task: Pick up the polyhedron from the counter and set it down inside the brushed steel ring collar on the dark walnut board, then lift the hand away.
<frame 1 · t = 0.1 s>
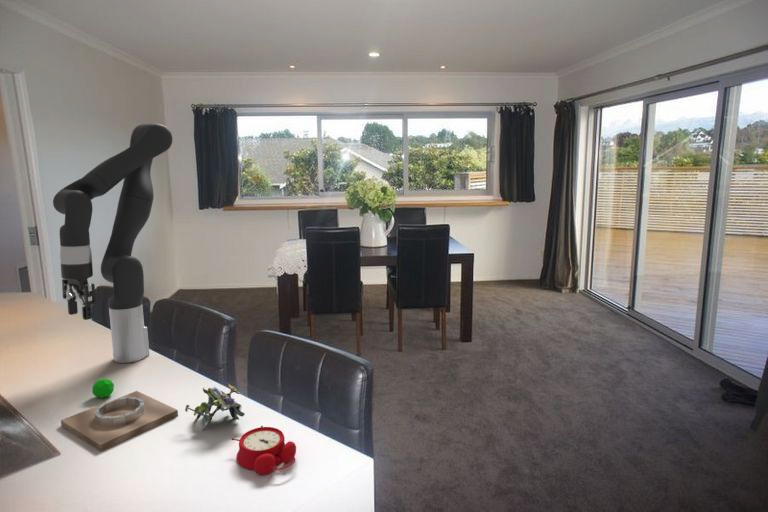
hand: (80, 316, 135), 17 cm above the kitchen island, tool pointing down, fingers open, 8 cm apart
steel ring: (120, 411, 112), on the walnut board, point 2 cm above the kitchen island
walnut board: (121, 420, 112), on the kitchen island
grey green plastic figure: (217, 424, 111), on the kitchen island
polyhedron: (104, 397, 124), on the kitchen island
alarm clock: (267, 460, 98), on the kitchen island
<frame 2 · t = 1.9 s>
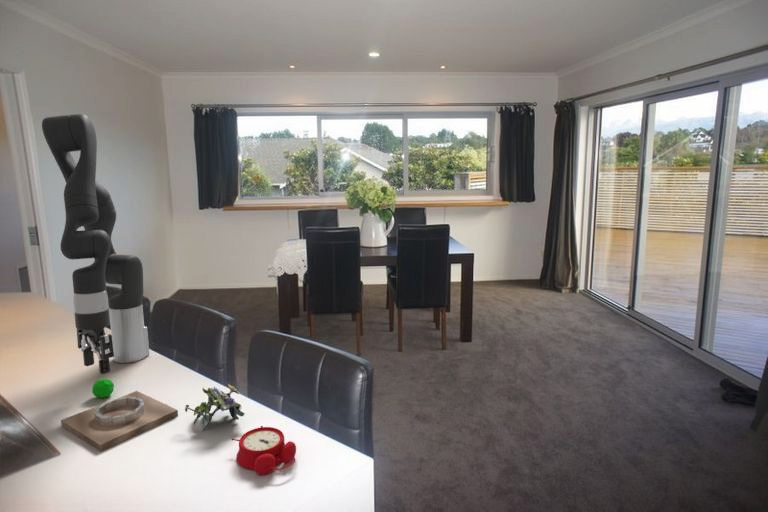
hand: (96, 368, 122), 8 cm above the kitchen island, tool pointing down, fingers open, 8 cm apart
nothing on the kitchen island moved.
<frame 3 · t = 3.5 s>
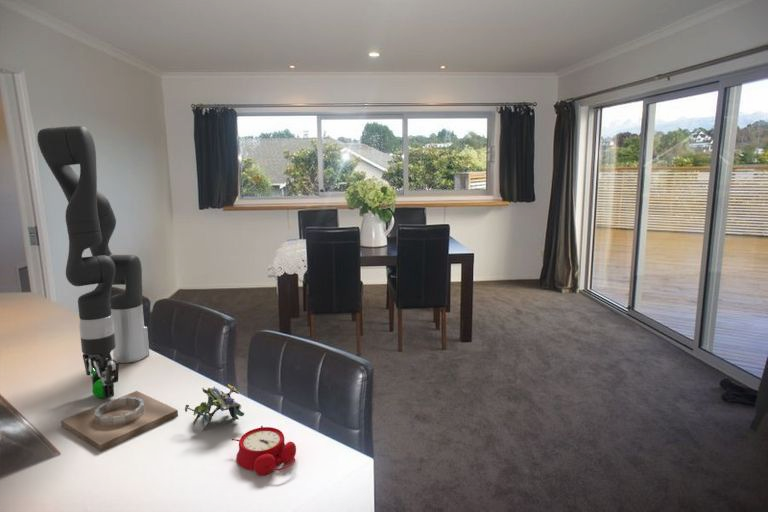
hand: (103, 394, 124), 1 cm above the kitchen island, tool pointing down, fingers closed on polyhedron, 5 cm apart
polyhedron: (104, 397, 124), on the kitchen island, touching gripper
everything else where it was.
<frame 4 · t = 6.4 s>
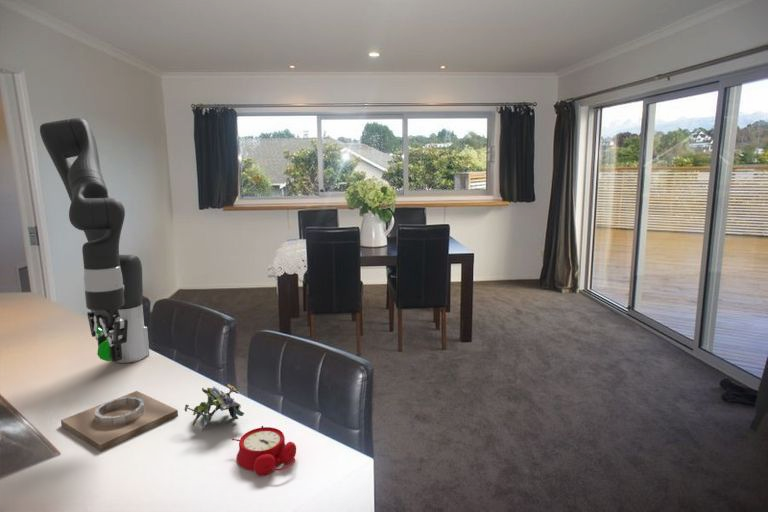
hand: (110, 357, 109), 16 cm above the kitchen island, tool pointing down, fingers closed on polyhedron, 5 cm apart
polyhedron: (110, 360, 109), point 15 cm above the kitchen island, touching gripper
everything else where it was.
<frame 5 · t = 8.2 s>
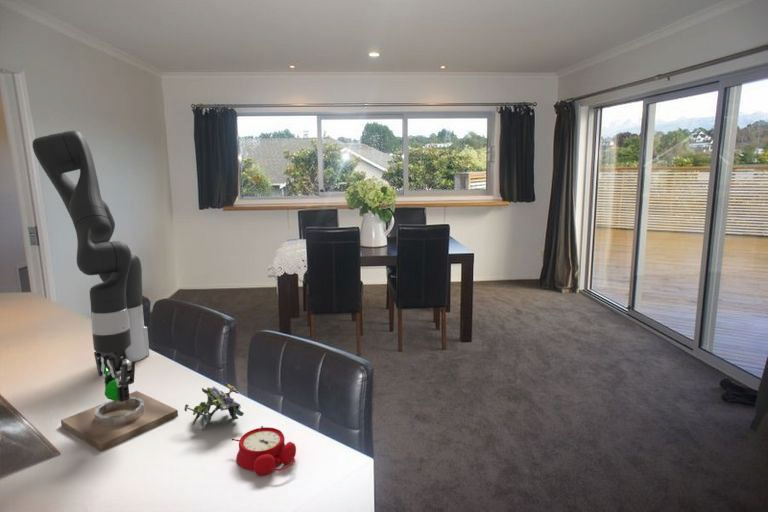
hand: (117, 396, 111), 6 cm above the kitchen island, tool pointing down, fingers closed on polyhedron, 5 cm apart
polyhedron: (117, 400, 111), point 5 cm above the kitchen island, touching gripper
everything else where it was.
when the fingers open (4 cm above the kitchen island, at t = 9.6 s): polyhedron drops 2 cm, resting on walnut board.
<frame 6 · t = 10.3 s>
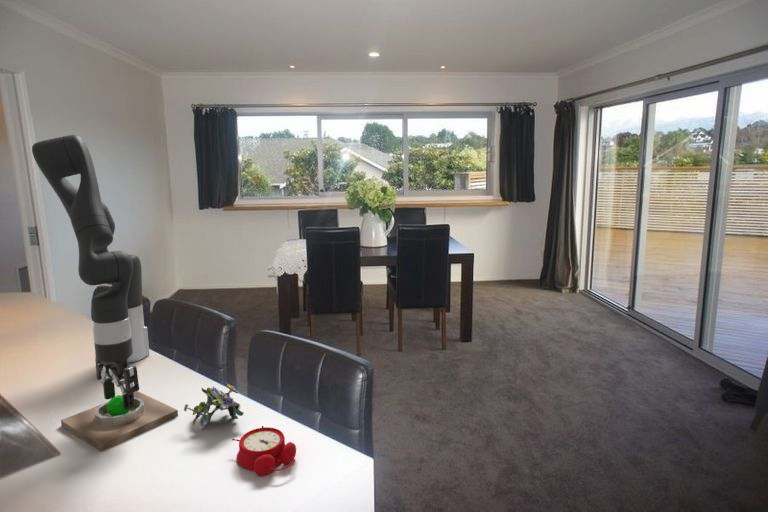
hand: (119, 402, 111), 5 cm above the kitchen island, tool pointing down, fingers open, 8 cm apart
polyhedron: (120, 416, 112), point 1 cm above the kitchen island, touching walnut board
everything else where it was.
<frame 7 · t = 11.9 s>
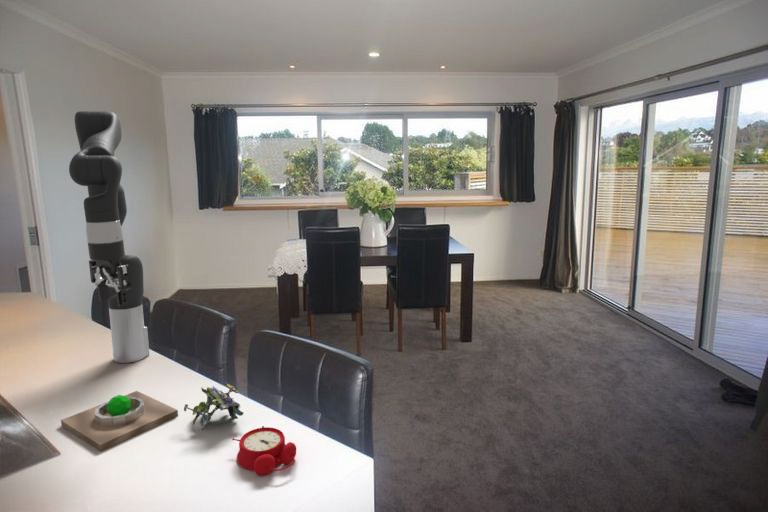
hand: (113, 302, 118), 26 cm above the kitchen island, tool pointing down, fingers open, 8 cm apart
nothing on the kitchen island moved.
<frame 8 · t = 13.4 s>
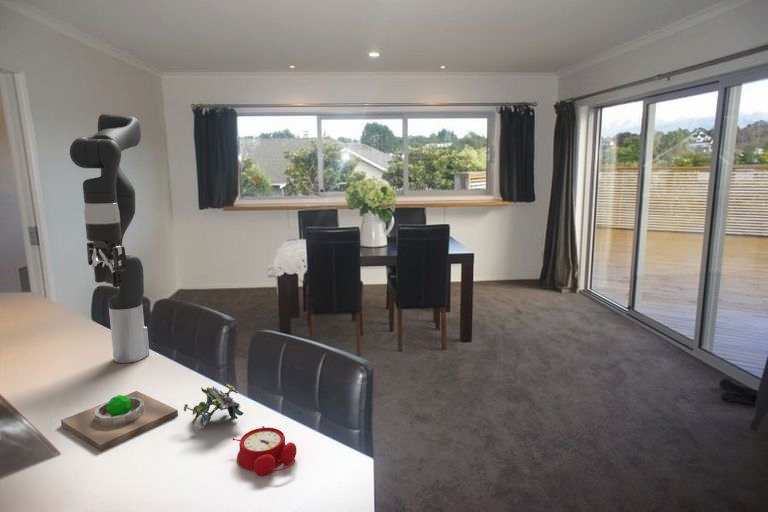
hand: (108, 284, 120), 30 cm above the kitchen island, tool pointing down, fingers open, 8 cm apart
nothing on the kitchen island moved.
at the end: polyhedron 0.2 cm off-centre on the steel ring, point 1.3 cm above the steel ring's base; the gripper is holding nothing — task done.
